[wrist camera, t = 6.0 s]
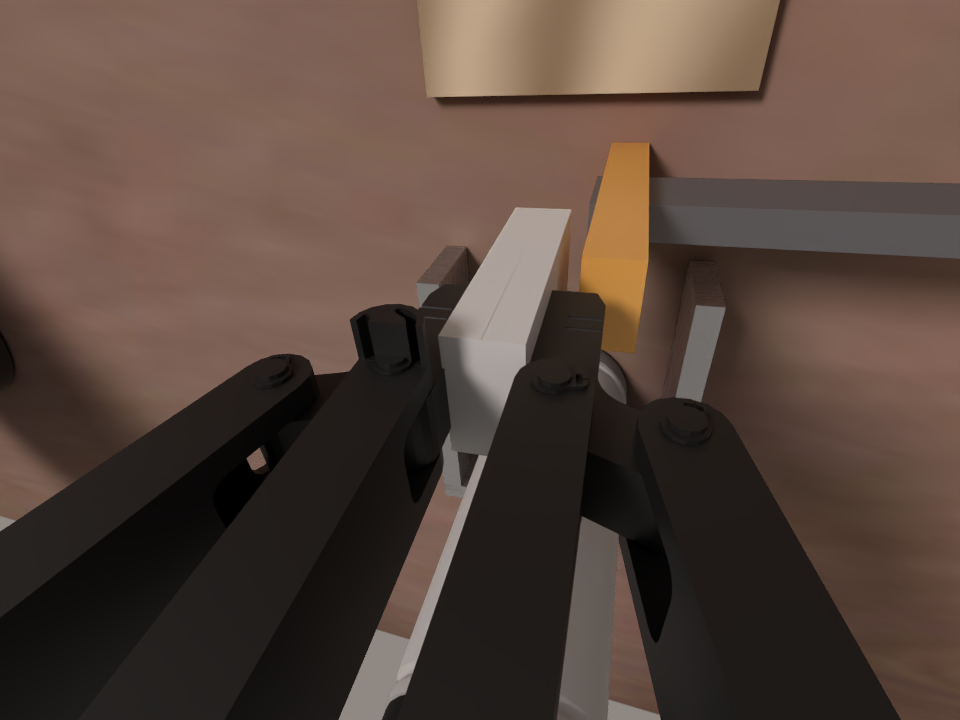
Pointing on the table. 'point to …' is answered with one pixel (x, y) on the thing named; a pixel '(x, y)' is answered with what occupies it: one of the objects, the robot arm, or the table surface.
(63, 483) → the table surface
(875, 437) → the table surface
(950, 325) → the table surface
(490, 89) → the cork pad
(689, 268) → the holder
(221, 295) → the table surface
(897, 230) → the bar
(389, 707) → the travel mug
